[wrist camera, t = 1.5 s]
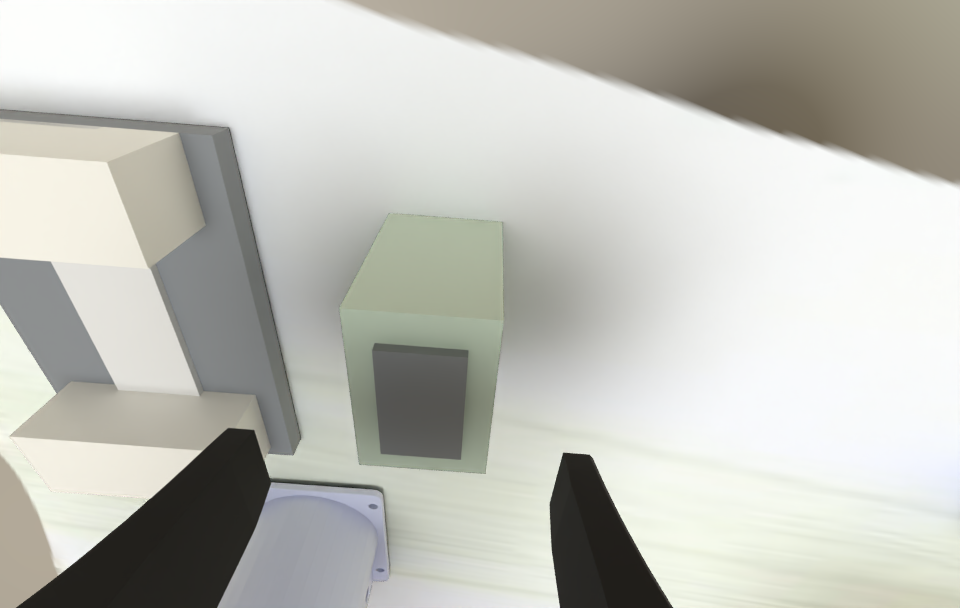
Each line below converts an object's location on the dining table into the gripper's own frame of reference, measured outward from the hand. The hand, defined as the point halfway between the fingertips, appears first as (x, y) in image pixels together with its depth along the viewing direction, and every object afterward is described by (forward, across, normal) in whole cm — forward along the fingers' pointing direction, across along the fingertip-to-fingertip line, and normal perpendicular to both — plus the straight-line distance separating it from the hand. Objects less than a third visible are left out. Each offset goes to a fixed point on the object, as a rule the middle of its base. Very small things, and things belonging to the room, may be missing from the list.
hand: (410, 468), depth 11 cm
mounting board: (+8, +12, +2) cm, 15 cm away
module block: (+8, 0, 0) cm, 8 cm away
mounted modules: (+7, +12, +2) cm, 14 cm away
